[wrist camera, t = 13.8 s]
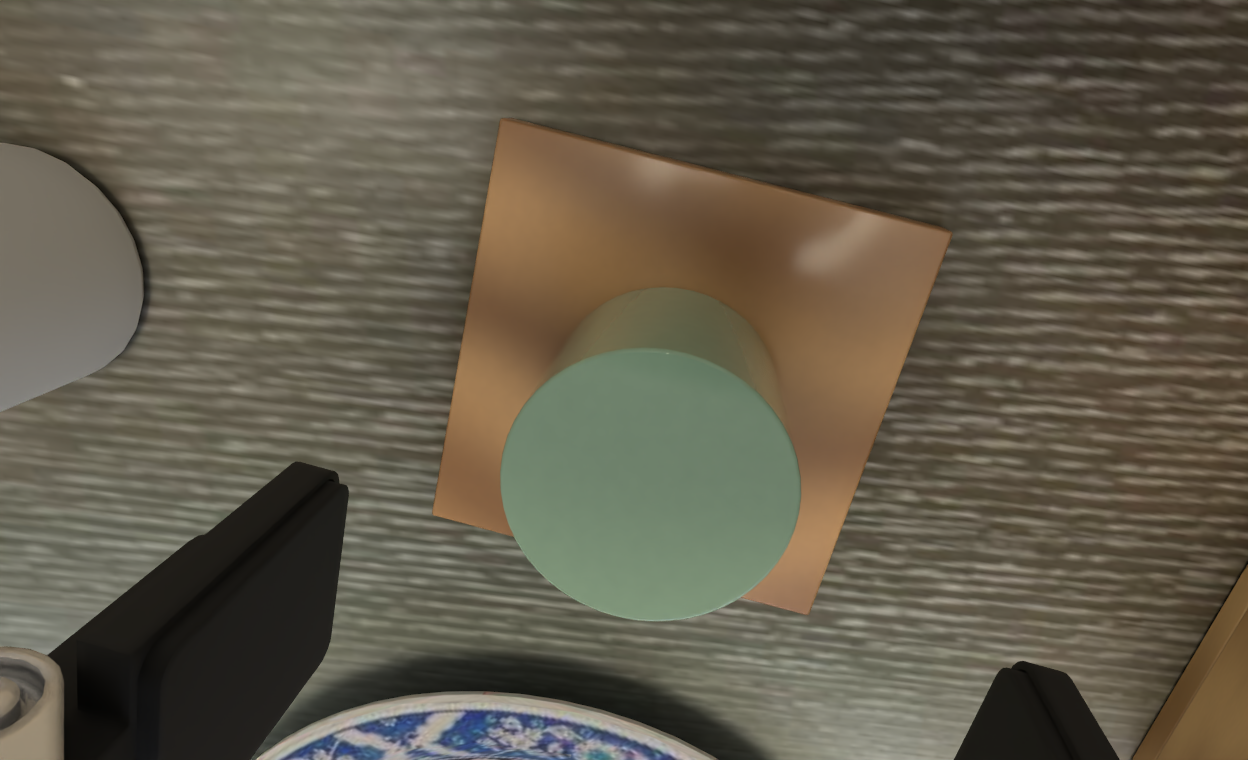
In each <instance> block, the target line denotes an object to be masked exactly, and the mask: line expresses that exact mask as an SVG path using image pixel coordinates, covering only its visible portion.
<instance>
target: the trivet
mask: <svg viewBox="0 0 1248 760" xmlns="http://www.w3.org/2000/svg"><path fill="white" fill-rule="evenodd" d="M951 238H952V232H951V231H949V230H947V229H945V228H943V227H940V226H936V225H932V224H928V223H924V222H920V221H916V220H912V219H908V218H904V217H900V216H896V215H893V214H889V213H885V212H881V211H877V210H873V209H869V208H865V207H861V206H857V205H853V204H849V203H845V202H841V201H837V200H833V199H829V198H825V197H821V196H818V195H814V194H810V193H806V192H802V191H798V190H794V189H790V188H786V187H782V186H778V185H774V184H770V183H766V182H762V181H758V180H754V179H750V178H746V177H743V176H739V175H735V174H731V173H727V172H723V171H719V170H715V169H711V168H707V167H703V166H699V165H695V164H691V163H687V162H683V161H679V160H675V159H671V158H668V157H664V156H660V155H656V154H652V153H648V152H644V151H640V150H636V149H632V148H628V147H624V146H620V145H616V144H612V143H608V142H604V141H600V140H596V139H593V138H589V137H585V136H581V135H577V134H573V133H569V132H565V131H561V130H557V129H553V128H549V127H545V126H541V125H537V124H533V123H529V122H525V121H521V120H518V119H514V118H501V120H500V124H499V129H498V135H497V141H496V147H495V153H494V158H493V164H492V170H491V176H490V181H489V187H488V193H487V199H486V205H485V210H484V216H483V222H482V228H481V233H480V239H479V245H478V251H477V257H476V262H475V268H474V274H473V280H472V285H471V291H470V297H469V303H468V308H467V314H466V320H465V326H464V332H463V337H462V343H461V349H460V355H459V360H458V366H457V372H456V378H455V384H454V389H453V395H452V401H451V407H450V412H449V418H448V424H447V430H446V436H445V441H444V447H443V453H442V459H441V464H440V470H439V476H438V482H437V488H436V493H435V499H434V505H433V511H432V514H433V515H435V516H439V517H442V518H446V519H450V520H453V521H457V522H461V523H465V524H468V525H472V526H476V527H480V528H483V529H487V530H491V531H495V532H498V533H502V534H506V535H510V536H513V537H514V535H513V533H512V531H511V529H510V526H509V524H508V521H507V518H506V514H505V511H504V508H503V503H502V496H501V490H500V468H501V460H502V453H503V449H504V446H505V442H506V439H507V436H508V433H509V431H510V429H511V427H512V424H513V422H514V420H515V418H516V417H517V415H518V414H519V412H520V410H521V409H522V407H523V406H524V404H525V402H526V401H527V399H528V398H529V396H530V395H531V393H532V392H533V390H534V389H535V387H536V386H537V384H538V383H539V381H540V380H541V378H542V377H543V375H544V374H545V372H546V371H547V369H548V368H549V366H550V364H551V363H552V361H553V360H554V358H555V357H556V355H557V354H558V352H559V351H560V349H561V348H562V346H563V345H564V343H565V342H566V340H567V339H568V337H569V336H570V334H571V333H572V331H573V330H574V329H575V328H576V327H577V325H578V324H579V323H580V322H581V321H582V320H583V319H584V318H585V317H586V316H587V315H588V314H589V313H591V312H592V311H593V310H595V309H596V308H597V307H599V306H600V305H602V304H603V303H605V302H607V301H609V300H611V299H613V298H615V297H617V296H620V295H623V294H625V293H628V292H631V291H636V290H641V289H645V288H656V287H670V288H681V289H686V290H692V291H695V292H698V293H702V294H705V295H708V296H710V297H712V298H714V299H716V300H718V301H720V302H722V303H724V304H726V305H727V306H729V307H730V308H732V309H733V310H735V311H736V312H737V313H738V314H740V315H741V316H742V317H743V318H744V319H745V320H747V321H748V323H749V324H750V325H751V326H752V327H753V328H754V329H755V330H756V332H757V333H758V334H759V336H760V337H761V339H762V340H763V342H764V343H765V345H766V347H767V349H768V351H769V353H770V355H771V357H772V360H773V363H774V366H775V369H776V372H777V376H778V380H779V384H780V389H781V393H782V397H783V401H784V405H785V409H786V413H787V417H788V421H789V426H790V430H791V434H792V438H793V442H794V446H795V450H796V454H797V459H798V464H799V470H800V475H801V503H800V511H799V516H798V520H797V523H796V527H795V531H794V533H793V535H792V538H791V540H790V542H789V545H788V547H787V549H786V550H785V552H784V553H783V555H782V557H781V558H780V560H779V561H778V563H777V564H776V565H775V567H774V568H773V569H772V570H771V571H770V573H769V574H768V575H767V576H766V577H765V578H764V579H763V580H762V581H761V582H760V583H759V584H758V585H757V586H755V587H754V588H753V589H752V590H751V591H749V592H748V593H746V594H745V595H744V596H742V597H741V598H745V599H749V600H752V601H756V602H760V603H764V604H767V605H771V606H775V607H778V608H782V609H786V610H790V611H793V612H797V613H801V614H805V615H808V614H809V613H810V610H811V608H812V605H813V602H814V600H815V597H816V594H817V592H818V589H819V586H820V584H821V581H822V579H823V576H824V573H825V571H826V568H827V565H828V563H829V560H830V557H831V555H832V552H833V550H834V547H835V544H836V542H837V539H838V536H839V534H840V531H841V528H842V526H843V523H844V520H845V518H846V515H847V513H848V510H849V507H850V505H851V502H852V499H853V497H854V494H855V491H856V489H857V486H858V483H859V481H860V478H861V476H862V473H863V470H864V468H865V465H866V462H867V460H868V457H869V454H870V452H871V449H872V446H873V444H874V441H875V439H876V436H877V433H878V431H879V428H880V425H881V423H882V420H883V417H884V415H885V412H886V410H887V407H888V404H889V402H890V399H891V396H892V394H893V391H894V388H895V386H896V383H897V380H898V378H899V375H900V373H901V370H902V367H903V365H904V362H905V359H906V357H907V354H908V351H909V349H910V346H911V343H912V341H913V338H914V336H915V333H916V330H917V328H918V325H919V322H920V320H921V317H922V314H923V312H924V309H925V306H926V304H927V301H928V299H929V296H930V293H931V291H932V288H933V285H934V283H935V280H936V277H937V275H938V272H939V270H940V267H941V264H942V262H943V259H944V256H945V254H946V251H947V248H948V246H949V243H950V240H951Z"/></svg>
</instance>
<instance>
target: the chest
mask: <svg viewBox="0 0 1248 760" xmlns="http://www.w3.org/2000/svg"><path fill="white" fill-rule="evenodd" d="M1132 760H1248V564H1247V566H1246V568H1245V569H1244V571H1243V573H1242V574H1241V576H1240V578H1239V579H1238V581H1237V583H1236V585H1235V586H1234V588H1233V590H1232V591H1231V593H1230V595H1229V596H1228V598H1227V600H1226V601H1225V603H1224V605H1223V607H1222V608H1221V610H1220V612H1219V613H1218V615H1217V617H1216V618H1215V620H1214V622H1213V623H1212V625H1211V627H1210V629H1209V630H1208V632H1207V634H1206V635H1205V637H1204V639H1203V640H1202V642H1201V644H1200V645H1199V647H1198V649H1197V650H1196V652H1195V654H1194V656H1193V657H1192V659H1191V661H1190V662H1189V664H1188V666H1187V667H1186V669H1185V671H1184V672H1183V674H1182V676H1181V678H1180V679H1179V681H1178V683H1177V684H1176V686H1175V688H1174V689H1173V691H1172V693H1171V694H1170V696H1169V698H1168V699H1167V701H1166V703H1165V705H1164V706H1163V708H1162V710H1161V711H1160V713H1159V715H1158V716H1157V718H1156V720H1155V721H1154V723H1153V725H1152V727H1151V728H1150V730H1149V732H1148V733H1147V735H1146V737H1145V738H1144V740H1143V742H1142V743H1141V745H1140V747H1139V749H1138V750H1137V752H1136V754H1135V755H1134V757H1133V759H1132Z"/></svg>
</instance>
